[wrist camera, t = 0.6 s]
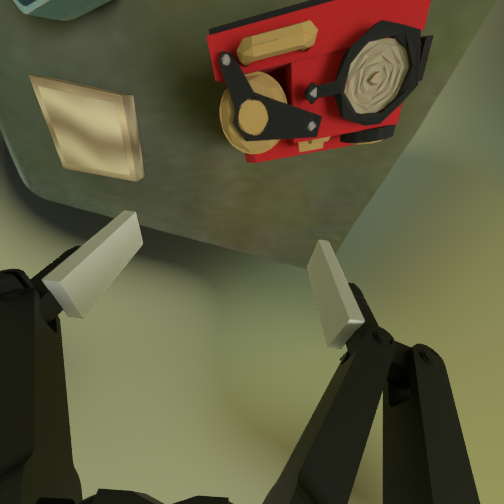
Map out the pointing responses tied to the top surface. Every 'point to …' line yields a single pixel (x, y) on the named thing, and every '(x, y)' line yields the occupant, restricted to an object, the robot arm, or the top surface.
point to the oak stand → (91, 127)
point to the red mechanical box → (318, 74)
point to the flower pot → (59, 8)
